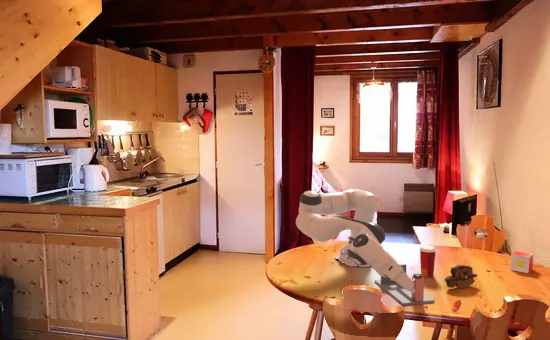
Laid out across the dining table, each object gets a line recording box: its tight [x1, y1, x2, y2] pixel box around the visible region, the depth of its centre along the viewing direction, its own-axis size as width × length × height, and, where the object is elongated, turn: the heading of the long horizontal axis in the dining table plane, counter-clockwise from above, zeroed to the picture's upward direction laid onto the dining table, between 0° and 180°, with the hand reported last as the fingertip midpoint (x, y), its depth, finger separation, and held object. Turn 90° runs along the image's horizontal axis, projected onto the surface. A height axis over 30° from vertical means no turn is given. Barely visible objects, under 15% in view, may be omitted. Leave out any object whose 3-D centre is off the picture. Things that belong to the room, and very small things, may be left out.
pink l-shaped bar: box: [411, 273, 425, 302], centre depth 190 cm, size 19×4×10 cm, turn 11°
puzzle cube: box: [510, 250, 534, 274], centre depth 222 cm, size 8×8×8 cm
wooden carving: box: [444, 264, 478, 289], centre depth 199 cm, size 16×5×10 cm, turn 114°
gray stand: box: [374, 263, 436, 306], centre depth 195 cm, size 28×14×9 cm, turn 11°
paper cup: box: [418, 245, 437, 278], centre depth 215 cm, size 8×8×14 cm
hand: (407, 287), depth 181 cm, fingers open, 8 cm apart
